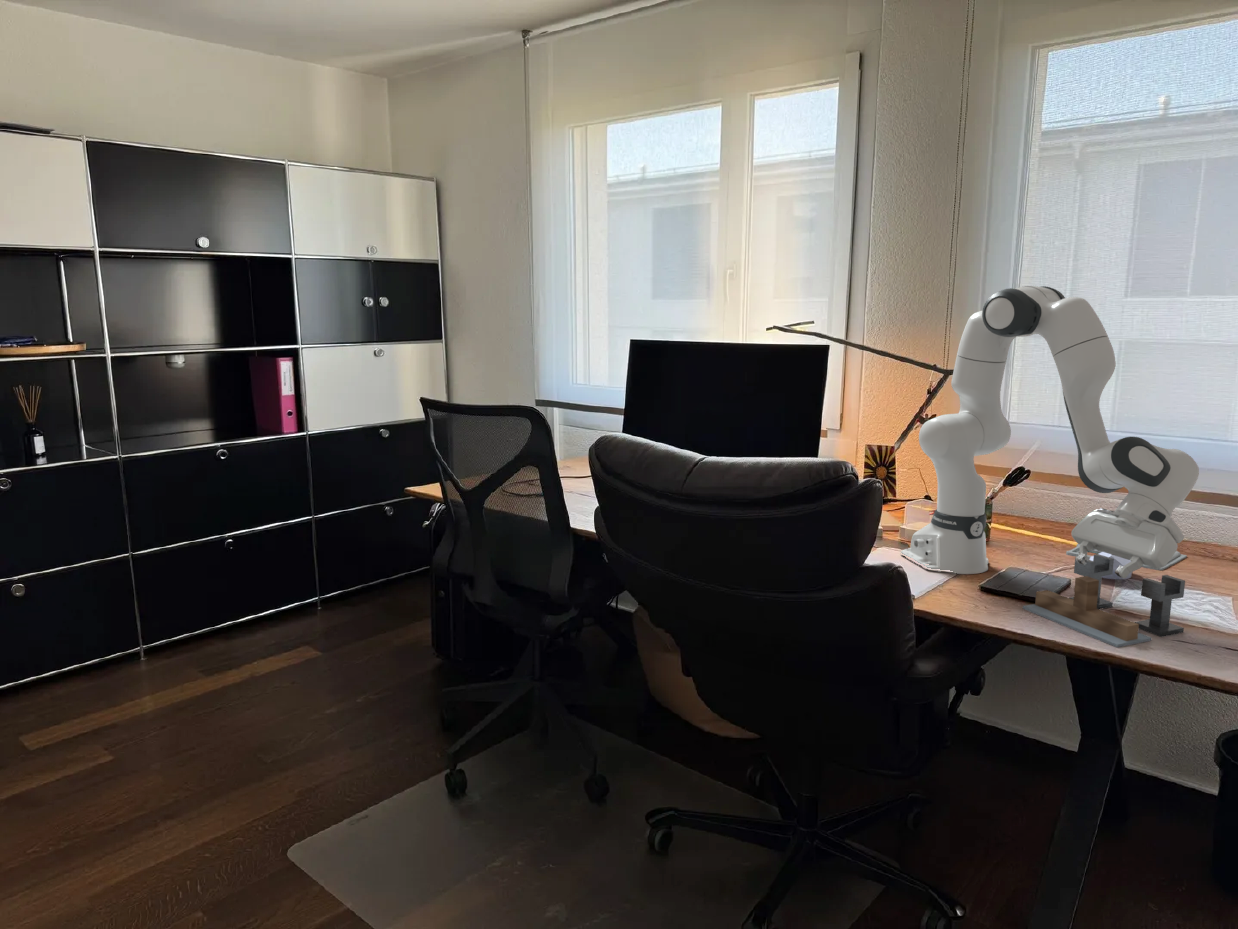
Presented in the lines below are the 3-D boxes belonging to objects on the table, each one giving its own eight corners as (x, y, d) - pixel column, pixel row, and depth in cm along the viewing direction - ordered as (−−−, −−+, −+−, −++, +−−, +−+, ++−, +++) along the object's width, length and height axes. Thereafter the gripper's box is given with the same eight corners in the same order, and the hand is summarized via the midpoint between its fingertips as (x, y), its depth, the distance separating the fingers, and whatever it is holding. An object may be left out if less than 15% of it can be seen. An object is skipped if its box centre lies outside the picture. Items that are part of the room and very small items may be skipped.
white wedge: (1131, 586, 197) (1131, 571, 208) (1133, 558, 195) (1134, 544, 206) (1086, 580, 201) (1089, 566, 212) (1089, 553, 200) (1091, 540, 211)
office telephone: (1188, 550, 218) (1162, 566, 205) (1186, 559, 219) (1161, 576, 206) (1091, 532, 235) (1061, 546, 222) (1090, 541, 236) (1060, 555, 223)
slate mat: (1022, 608, 183) (1022, 606, 183) (1054, 603, 186) (1054, 600, 186) (1116, 647, 162) (1117, 644, 162) (1151, 640, 165) (1151, 637, 165)
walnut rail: (1035, 604, 184) (1038, 565, 182) (1045, 603, 185) (1048, 563, 183) (1126, 641, 163) (1130, 596, 162) (1137, 638, 164) (1141, 594, 163)
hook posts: (1067, 602, 187) (1071, 556, 185) (1089, 598, 189) (1093, 552, 187) (1160, 637, 167) (1166, 586, 165) (1184, 632, 169) (1190, 582, 167)
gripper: (1089, 497, 183) (1050, 546, 182) (1178, 520, 164) (1136, 574, 163) (1102, 515, 186) (1064, 563, 184) (1192, 539, 167) (1151, 593, 165)
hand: (1099, 568), depth 173 cm, fingers open, 8 cm apart
